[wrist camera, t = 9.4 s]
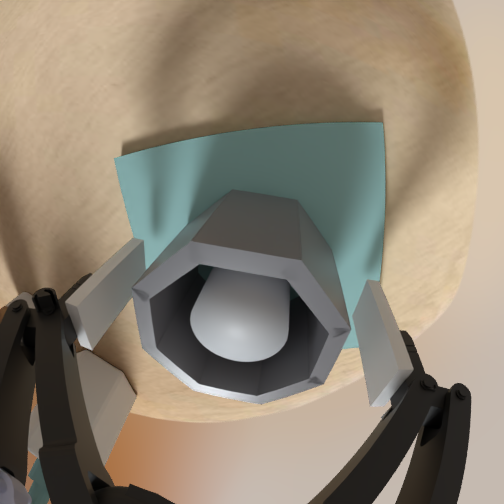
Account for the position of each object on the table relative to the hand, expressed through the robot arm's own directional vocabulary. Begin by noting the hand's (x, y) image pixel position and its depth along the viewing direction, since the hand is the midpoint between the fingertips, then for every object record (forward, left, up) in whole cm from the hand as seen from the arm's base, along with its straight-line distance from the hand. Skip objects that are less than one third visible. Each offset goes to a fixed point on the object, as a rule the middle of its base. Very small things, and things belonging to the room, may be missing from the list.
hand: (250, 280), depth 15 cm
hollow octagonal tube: (0, 0, -2) cm, 2 cm away
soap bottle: (+16, -22, -3) cm, 27 cm away
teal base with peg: (0, 0, -3) cm, 3 cm away
